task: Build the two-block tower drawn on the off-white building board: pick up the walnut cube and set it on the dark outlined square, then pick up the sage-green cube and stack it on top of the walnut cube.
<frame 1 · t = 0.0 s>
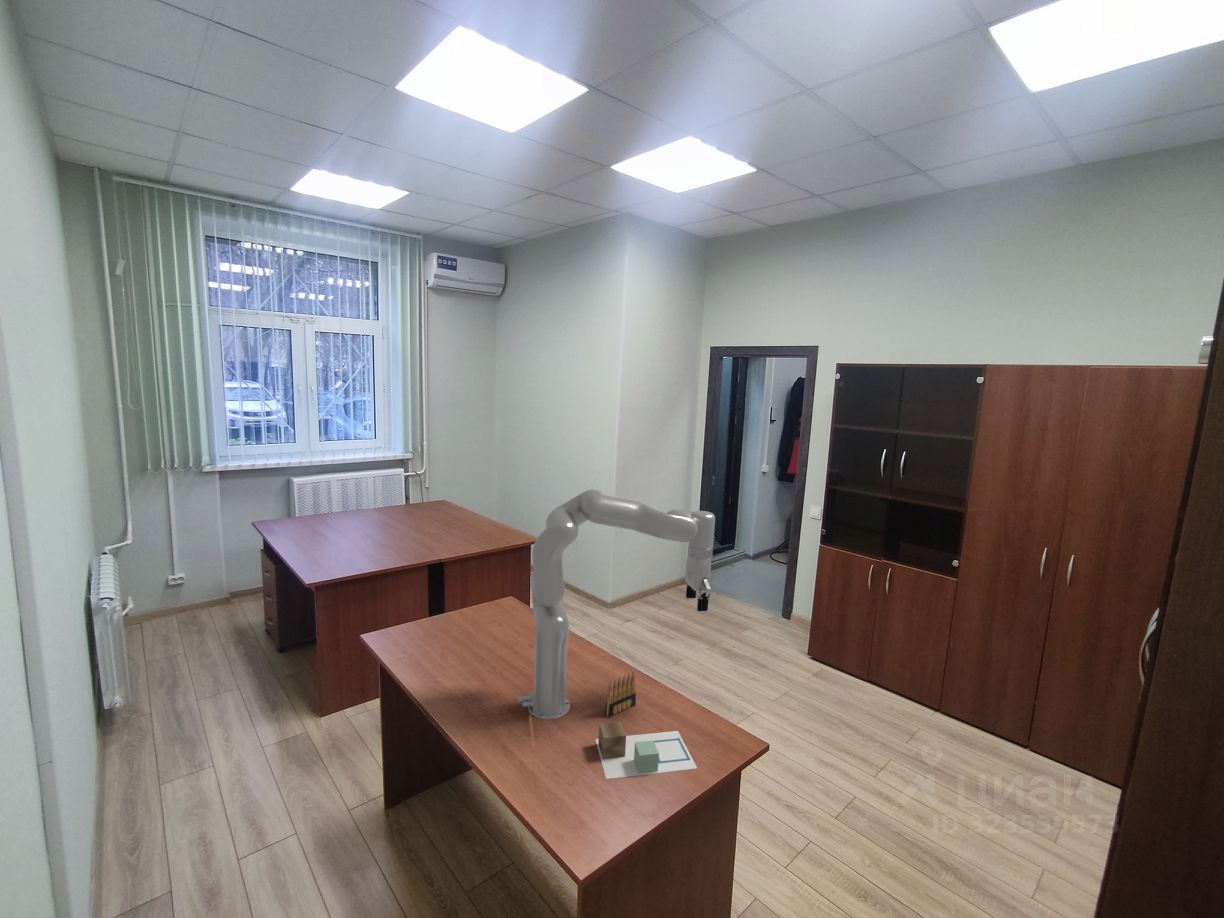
hand: (696, 604, 165), 31 cm above the table, tool pointing down, fingers open, 9 cm apart
ammunition clip: (620, 713, 159), on the table
sage cube: (645, 765, 136), point 1 cm above the table, touching building board
building board: (644, 756, 141), on the table
walnut block: (611, 750, 141), point 1 cm above the table, touching building board
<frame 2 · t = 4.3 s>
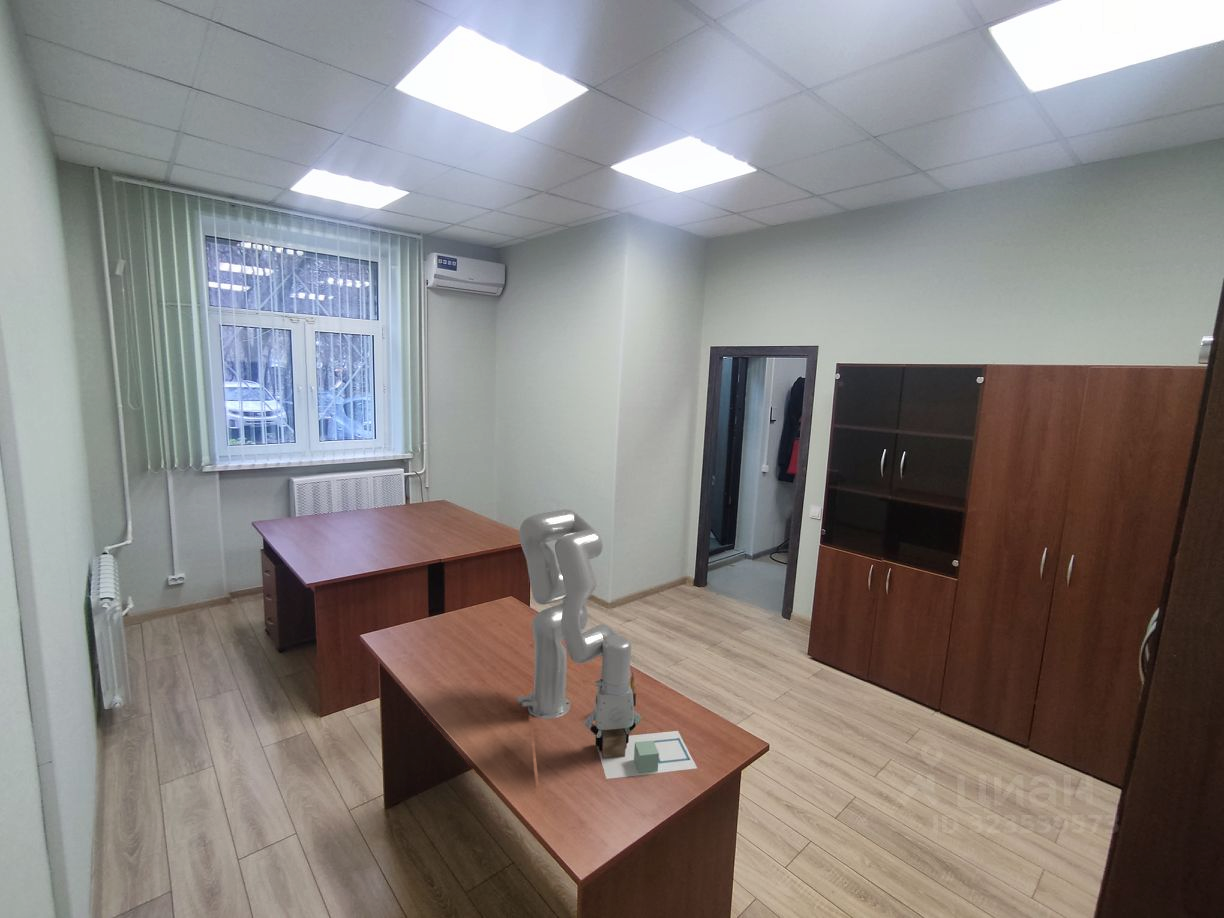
hand: (611, 746, 141), 2 cm above the table, tool pointing down, fingers closed on walnut block, 6 cm apart
walnut block: (611, 750, 141), point 1 cm above the table, touching building board, gripper
everything else where it was.
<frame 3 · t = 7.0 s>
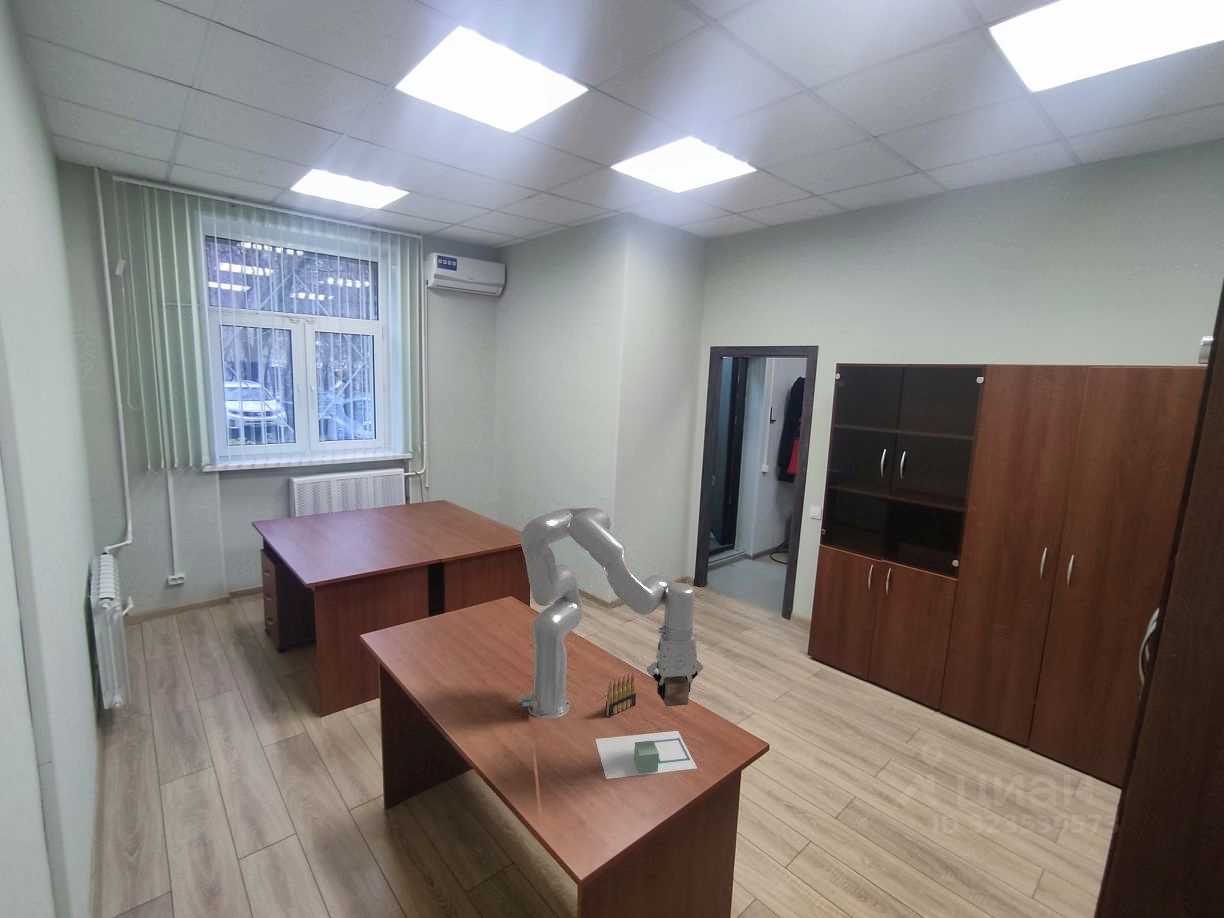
hand: (673, 694, 140), 17 cm above the table, tool pointing down, fingers closed on walnut block, 6 cm apart
walnut block: (673, 698, 140), point 16 cm above the table, touching gripper
everything else where it was.
when the fingers open (4 cm above the table, at t = 9.9 s): walnut block drops 1 cm, resting on building board.
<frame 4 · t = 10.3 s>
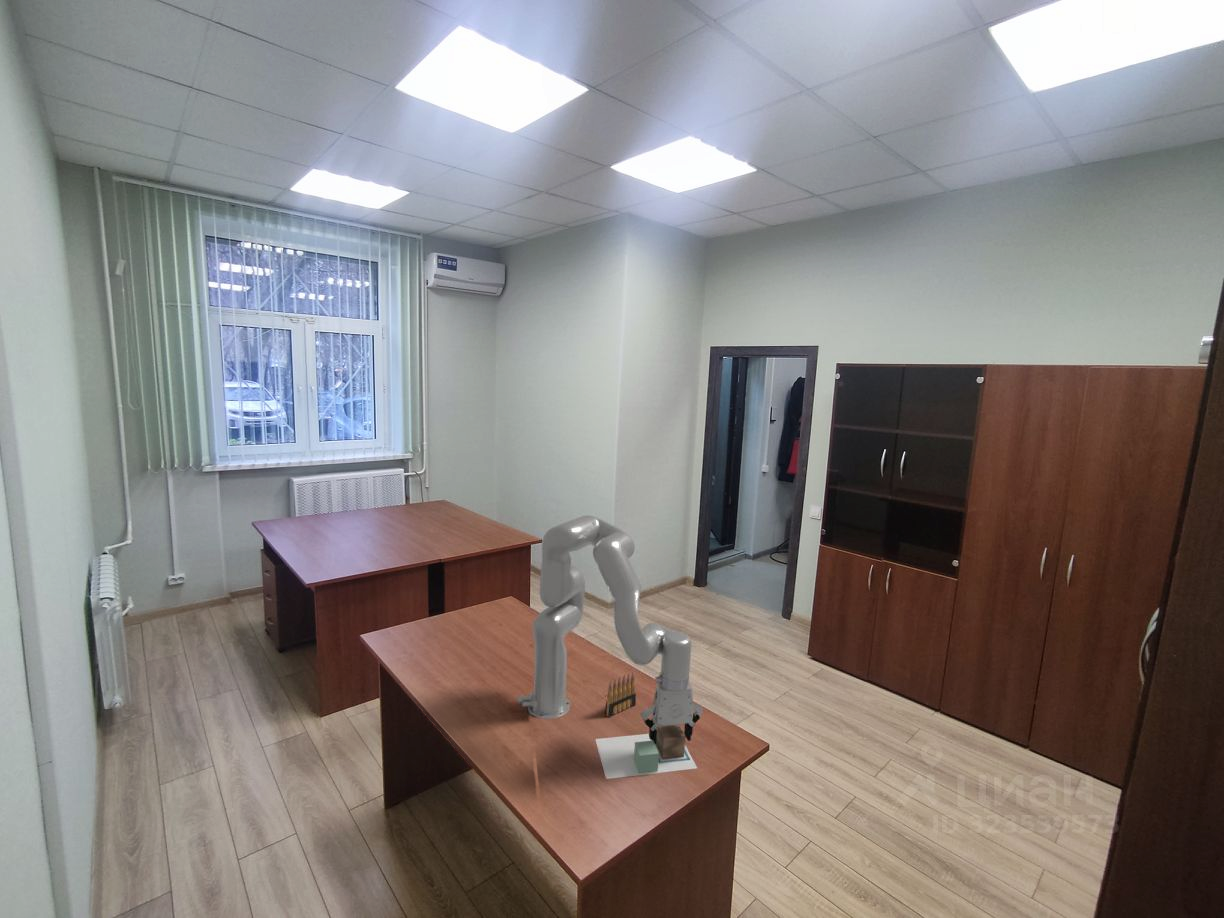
hand: (670, 739, 142), 4 cm above the table, tool pointing down, fingers open, 9 cm apart
walnut block: (669, 750, 142), point 1 cm above the table, touching building board
everything else where it was.
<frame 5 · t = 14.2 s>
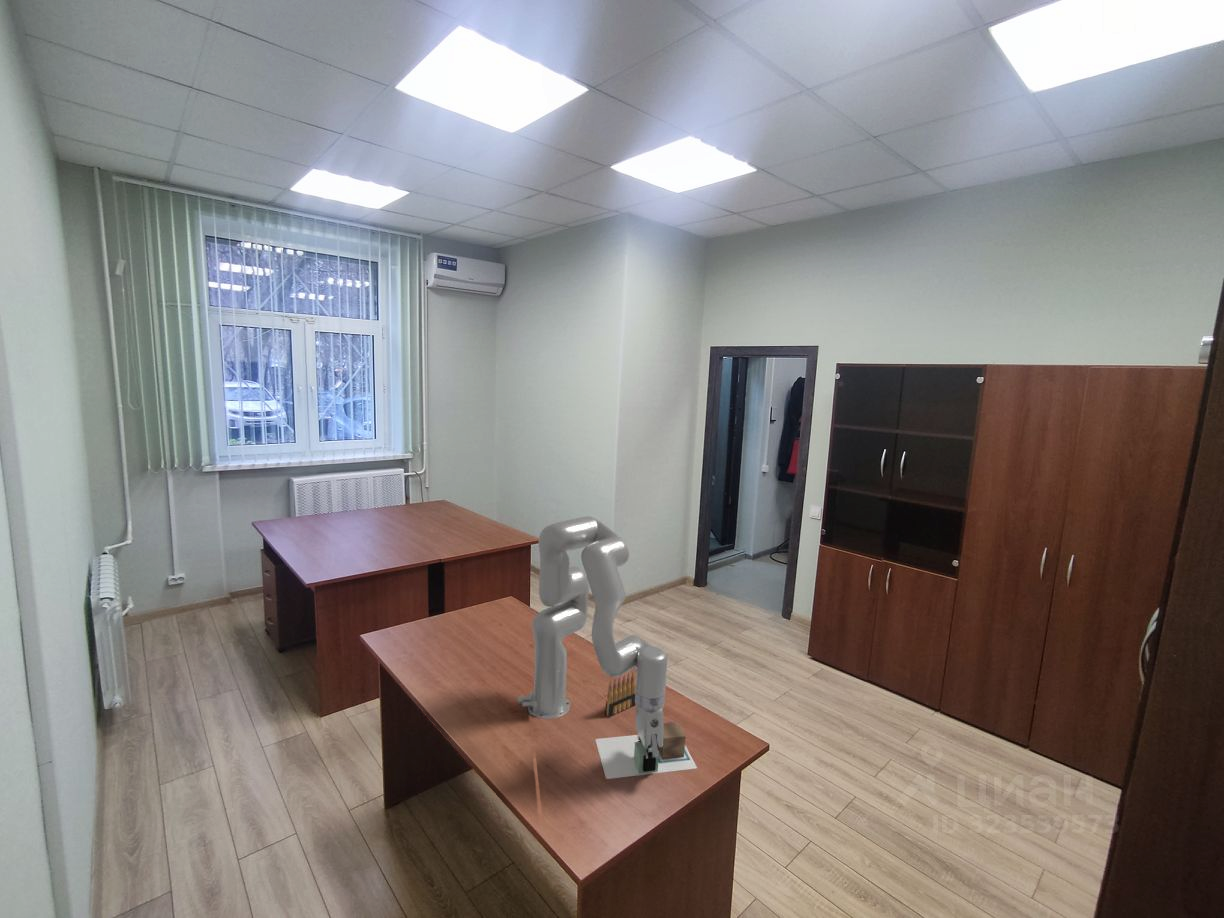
hand: (645, 761, 136), 2 cm above the table, tool pointing down, fingers closed on sage cube, 4 cm apart
sage cube: (645, 765, 136), point 1 cm above the table, touching building board, gripper
everything else where it was.
when the fingers open (9 cm above the table, at t = 18.7 s): sage cube drops 1 cm, resting on walnut block.
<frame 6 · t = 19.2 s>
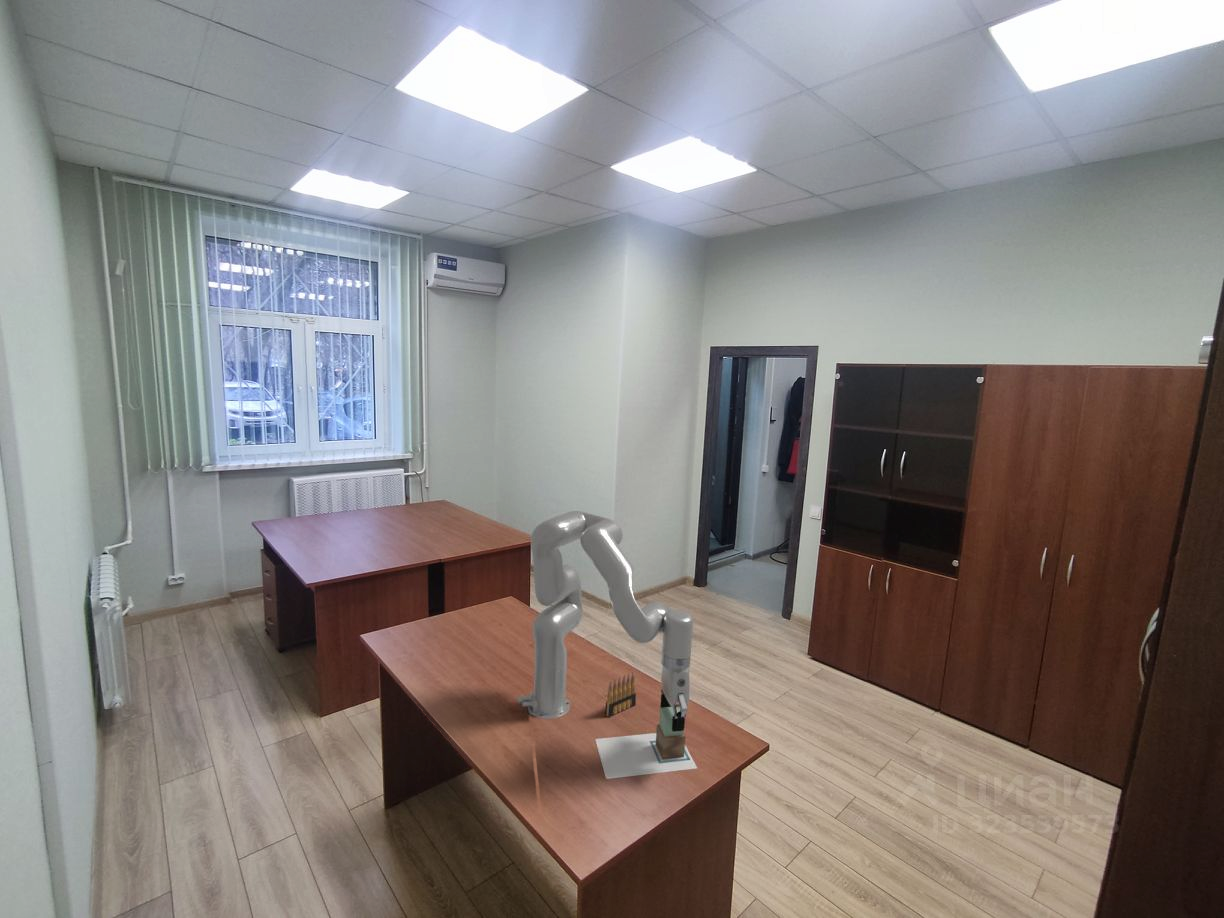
hand: (671, 718, 141), 10 cm above the table, tool pointing down, fingers open, 9 cm apart
sage cube: (670, 729, 142), point 7 cm above the table, touching walnut block
walnut block: (669, 750, 142), point 1 cm above the table, touching building board, sage cube
everything else where it was.
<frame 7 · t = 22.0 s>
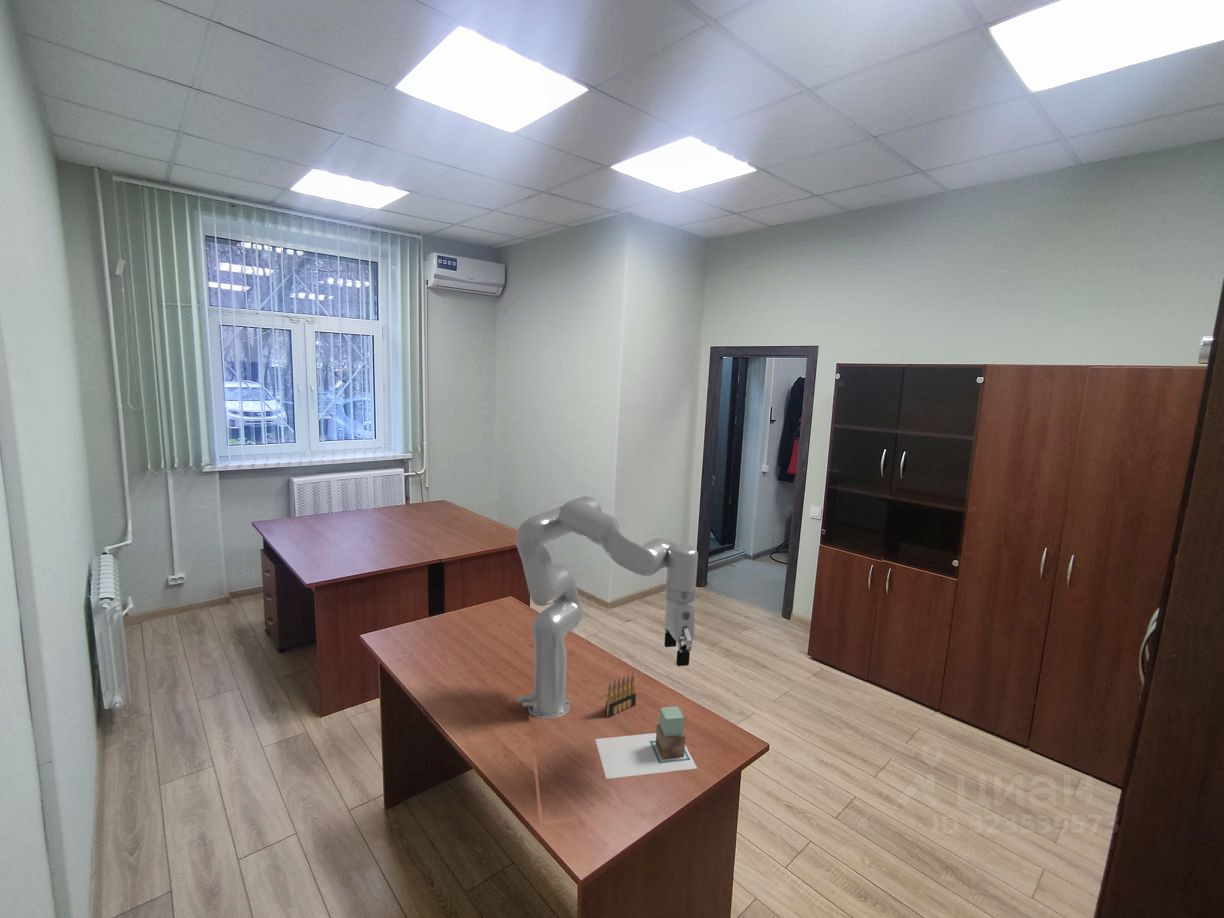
hand: (676, 655, 138), 28 cm above the table, tool pointing down, fingers open, 9 cm apart
nothing on the table moved.
at the end: walnut block 0.0 cm from the target spot on the building board, point 1.0 cm above the building board's base; sage cube 0.1 cm off-centre on the walnut block, point 6.0 cm above the walnut block's base; sage cube tilted 0° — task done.
